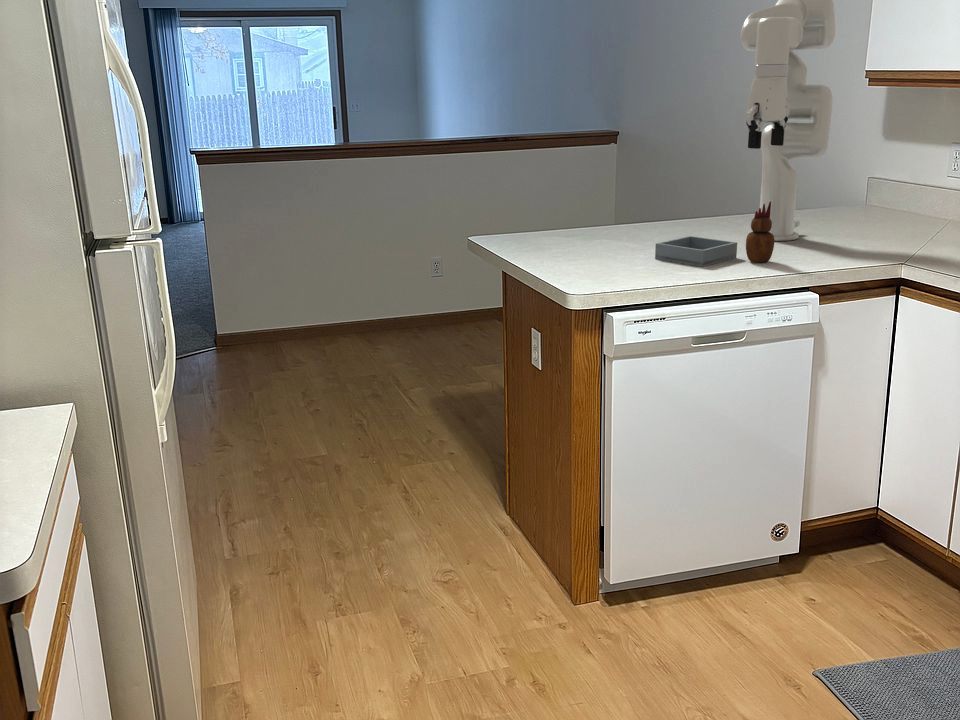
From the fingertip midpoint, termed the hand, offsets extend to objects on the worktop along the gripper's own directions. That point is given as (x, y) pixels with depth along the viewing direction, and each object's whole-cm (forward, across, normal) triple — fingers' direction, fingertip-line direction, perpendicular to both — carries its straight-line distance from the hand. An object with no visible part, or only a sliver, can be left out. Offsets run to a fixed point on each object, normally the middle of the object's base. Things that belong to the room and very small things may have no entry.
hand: (765, 146), depth 222 cm
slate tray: (+28, +7, -14) cm, 32 cm away
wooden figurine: (+28, 0, 0) cm, 28 cm away
